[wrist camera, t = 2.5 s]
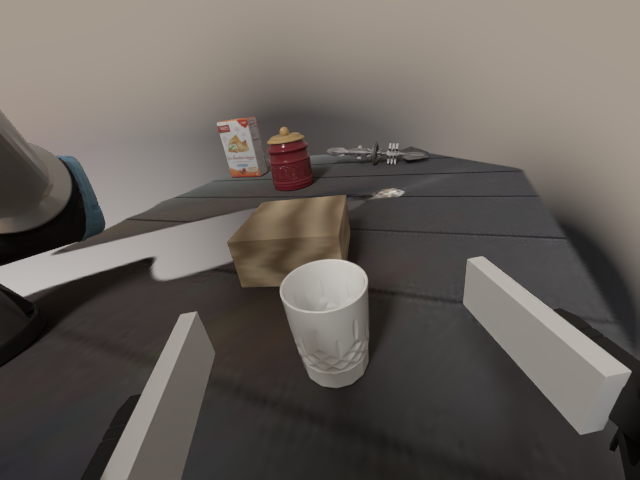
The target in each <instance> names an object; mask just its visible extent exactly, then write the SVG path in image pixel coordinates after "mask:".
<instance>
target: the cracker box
mask: <svg viewBox="0 0 640 480" xmlns="http://www.w3.org/2000/svg"><path fill="white" fill-rule="evenodd" d="M217 126H218V129H219V133H220V136H221V140H222V143H223V147H224V150H225V154H226V157H227V161H228V164H229V168H230V171H231V175H232V177H257V176H262V175H264V174H266V173H267V172H268V170H267V166H266V161H265V157H264V152H263V148H262V144H261V139H260V135H259V130H258V127H257V122H256V117H251V118H240V119H233V120H226V121H220V122H218V123H217Z"/></svg>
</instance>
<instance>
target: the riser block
mask: <svg viewBox="0 0 640 480" xmlns="http://www.w3.org/2000/svg"><path fill="white" fill-rule="evenodd" d="M349 241H350V227H349V217H348V208H347V198H346V195H338V196H327V197H316V198H305V199H294V200H283V201H272V202H263V203H262V204H261V205H260V206H259V207H258V208H257V209H256V211H255V212H254V213H253V214H252V215H251V216H250V217H249V218H248V220H247V221H246V222H245V223H244V224H243V225H242V226H241V227H240V228H239V230H238V231H237V232H236V233H235V234H234V235H233V236H232V237H231V238H230V240H229V241H228V242H227V243H228V246H229V249H230V252H231V255H232V258H233V261H234V264H235V267H236V270H237V273H238V276H239V279H240V283H241V286H242V287H270V286H281V283H282V281H283V280H284V278H285V277H286V276H287V275H288V274H289V273H290V272H292V271H293V270H295V269H296V268H298V267H300V266H302V265H304V264H307V263H310V262H313V261H318V260H324V259H339V260H345V261H347V259H348V250H349Z"/></svg>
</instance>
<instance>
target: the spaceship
mask: <svg viewBox="0 0 640 480" xmlns="http://www.w3.org/2000/svg"><path fill="white" fill-rule="evenodd" d="M378 150H379V151H378ZM327 153H328V154H329V155H332V156H344V155H351V156H355V157H357V159H358V160H360V159H361V157H369V156H371V157H372V163H373V165H375V164H376V162H377V159H378V157H379V159H381V157H382V155H386V156H387V164H389V161H390V159H391V164H392V163H393V159H394V164H396V160H397V158H396V157H399V156H403V159H405V160H407V161H408V162H411V161H417V160H422V159H425V158H428V156H425V155H426V154H428V152H426V151H423V150H421V149H417V148H414V147H409V148H406V149H404V152H399V151H398V143H397V144H396V149H395V144H394V143H393V147H392V149H391V143H390V145H389V150H387V152H382V148H380V149H378V143H377V141H375V142H374V145H373V148H372V151H371V150H370V149H368V148H362V146H359V147H358V148H354V149H350V150H346V149H344V148H330V149H328V150H327Z"/></svg>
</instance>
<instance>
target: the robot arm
mask: <svg viewBox="0 0 640 480" xmlns="http://www.w3.org/2000/svg"><path fill="white" fill-rule="evenodd" d="M104 228H105V220H104V216H103V213H102V211H101V209H100V206H99V205H98V201H97V198H96V196H95V193H94V191H93V189H92V186H91V184H90V182H89V180H88V178H87V176H86V174H85V172H84V170H83V168H82V166H81V164H80V163H79V162H78V161H77V159H76V158H74V157H72V156H59V155H58V156H54V155H53V154H52V153H50V152H48V151H47V150H45V149H43V148H41V147H39V146H36V145H33V144H31V143H27V142H26V141H25V139H24V138H23V137H22V136H21V134H20V133H19V132H18V131H17V130H16V128H15V127H14V126H13V125H12V123H11V122H10V121H9V120H8V119H7V118H6V116H5V115H4V114H3V113H2V111H1V110H0V266H2V265H6V264H9V263H12V262H15V261H18V260H21V259H24V258H28V257H31V256H34V255H37V254H40V253H43V252H46V251H50V250H53V249H56V248H59V247H62V246H65V245H68V244H72V243H75V242H82V241H85V240H86V239H87V238H89V237H92V236H95V235H98V234H100V233H101V232H102V231H103V230H104ZM463 304H464V305H465V306H466V307H467V309H468V310H469V311H470V312H471V313H472V314H473V315H474V316H475V318H476V319H477V320H478V321H479V322H480V323H481V324H482V325H483V327H484V328H485V329H486V330H487V331H488V332H489V333H490V334H491V335H492V337H493V338H494V339H495V340H496V341H497V342H498V343H499V344H500V346H501V347H502V348H503V349H504V350H505V351H506V352H507V353H508V355H509V356H510V357H511V358H512V359H513V360H514V361H515V362H516V364H517V365H518V366H519V367H520V368H521V369H522V370H523V371H524V372H525V374H526V375H527V376H528V377H529V378H530V379H531V380H532V381H533V383H534V384H535V385H536V386H537V387H538V388H539V389H540V390H541V392H542V393H543V394H544V395H545V396H546V397H547V398H548V399H549V400H550V402H551V403H552V404H553V405H554V406H555V407H556V408H557V409H558V411H559V412H560V413H561V414H562V415H563V416H564V417H565V418H566V420H567V421H568V422H569V423H570V424H571V425H572V426H573V427H574V428H575V430H576V431H577V432H578V433H579V434H580V435H582V434H587V433H591V432H596V431H600V430H603V429H604V427H605V425H606V423H607V421H608V419H610V420H611V421H612V422H614V423H615V424H616V425H617V426H618V427H619V428H618V430H617V432H616V434H615V436H614V438H613V439H612V441H611V443H610V450H611V451H614V452H615V450H616V448H617V446H618V444H619V448H620V453H621V458H622V463H623V468H624V473H625V478H626V480H640V361H639V360H637V359H636V358H634V357H633V356H632V355H630V354H629V353H627V352H626V351H625V350H623V349H622V348H621V347H619V346H618V345H616V344H615V343H614V342H612V341H611V340H610V339H608V338H607V337H604V336H603V334H601V333H600V332H599V331H597V330H596V329H593V328H592V327H591V326H590V325H589V324H588V323H586V322H585V321H583V320H582V319H581V318H579V317H578V316H576V315H574V314H572V313H569V312H567V311H565V310H563V309H561V308H559V309H554V310H552V309H550V308H549V307H548V306H547V305H545V304H544V303H543V302H541V301H540V300H539V299H537V298H536V297H535V296H534V295H532V294H531V293H530V292H528V291H527V290H526V289H524V288H523V287H522V286H521V285H519V284H518V283H517V282H515V281H514V280H513V279H512V278H510V277H509V276H508V275H506V274H505V273H504V272H502V271H501V270H500V269H499V268H497V267H496V266H495V265H493V264H492V263H491V262H489V261H488V260H487V259H486V258H484V257H483V256H481V257H475V258H470V259H467V268H466V278H465V289H464V300H463ZM46 323H47V318H46V316H45V315H44V314H43V312H42V311H41V310H40V308H39V307H38V306H37V305H35V304H34V303H32V302H30V301H29V300H27V299H25V298H24V297H22V296H20V295H19V294H17V293H15V292H13V291H12V290H10V289H8V288H7V287H5V286H3V285H2V284H0V365H2V364H3V363H5V362H6V361H8V360H9V359H11V358H12V357H14V356H15V355H17V354H18V353H19V352H21V351H22V350H23V349H24V348H26V347H27V346H28V345H29V344H30V343H31V342H32V341H34V340H35V339H36V338H37V336H38V335H39V334H40V333H41V332H42V331H43V329H44V327H45V326H46ZM214 356H215V351H214V349H213V347H212V344H211V342H210V340H209V338H208V335H207V333H206V331H205V329H204V326H203V324H202V322H201V320H200V317H199V315H198V313H197V311H196V312H191V313H186V314H181V315H180V317H179V319H178V321H177V323H176V325H175V327H174V329H173V331H172V333H171V335H170V337H169V339H168V341H167V343H166V345H165V348H164V350H163V352H162V354H161V356H160V358H159V360H158V362H157V364H156V366H155V368H154V370H153V372H152V374H151V376H150V378H149V380H148V382H147V384H146V387H145V389H144V391H143V393H142V394H139V395H134V396H130V397H129V398H128V400H127V401H126V402H125V403H124V404H123V405H122V406H121V408H120V409H119V410H118V411H117V413H116V415H115V417H114V418H113V420H112V422H111V424H110V426H109V429H108V430H107V431H106V433H105V435H104V437H103V439H102V443H100V444H99V446H98V448H97V450H96V452H95V454H94V456H93V457H92V459H91V461H90V463H89V465H88V467H87V469H86V470H85V472H84V474H83V476H82V478H81V480H181V477H182V473H183V470H184V466H185V462H186V459H187V455H188V451H189V448H190V444H191V440H192V437H193V433H194V429H195V426H196V422H197V418H198V415H199V411H200V407H201V404H202V400H203V396H204V393H205V389H206V385H207V382H208V378H209V374H210V371H211V367H212V363H213V360H214Z"/></svg>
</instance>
